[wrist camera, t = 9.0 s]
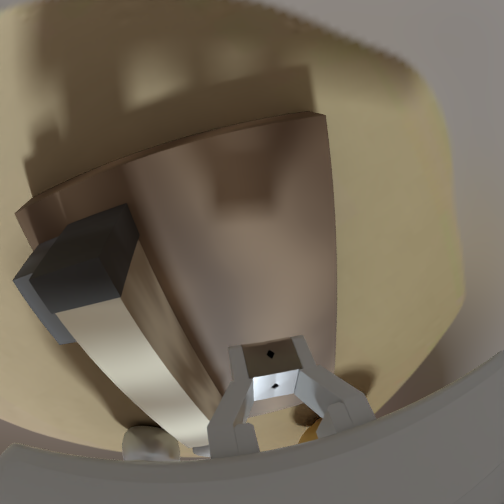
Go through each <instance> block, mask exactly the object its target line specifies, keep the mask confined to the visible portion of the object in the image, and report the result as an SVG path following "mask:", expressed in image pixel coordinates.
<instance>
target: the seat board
mask: <svg viewBox="0 0 504 504" xmlns="http://www.w3.org/2000/svg"><path fill="white" fill-rule="evenodd" d="M125 203H127V205H128V207H129V210H130V212H131V215H132V217H133V220H134V222H135V224H136V227H137V229H138V232H139V234H140V236H139V241H140V244H141V246H142V248H143V250H144V253H145V255H146V257H147V259H148V261H149V264H150V266H151V268H152V270H153V272H154V274H155V276H156V278H157V280H158V283H159V285H160V287H161V289H162V291H163V293H164V295H165V297H166V299H167V301H168V303H169V305H170V307H171V309H172V311H173V312H174V314H175V316H176V318H177V320H178V322H179V324H180V326H181V328H182V329H183V331H184V333H185V335H186V337H187V339H188V340H189V342H190V344H191V346H192V348H193V349H194V351H195V353H196V355H197V356H198V358H199V360H200V361H201V363H202V365H203V367H204V368H205V370H206V372H207V373H208V375H209V377H210V378H211V380H212V382H213V383H214V385H215V386H216V388H217V390H218V391H219V393H220V394H221V396H222V397H223V395H224V394H225V392H226V390H227V388H228V386H229V384H230V382H232V381H233V380H232V375H231V368H230V360H229V352H228V346H236V345H244V344H252V343H260V342H265V341H269V340H275V339H280V338H285V337H292V336H297V335H303V336H304V338H305V340H306V342H307V345H308V347H309V349H310V352H311V354H312V356H313V359H314V361H315V363H316V366H317V365H321V366H322V367H324V368H325V369H327V370H328V371H330V372H331V373H333V374H334V368H335V350H336V323H337V253H336V226H335V207H334V192H333V180H332V168H331V158H330V148H329V139H328V131H327V123H326V115H323V114H319V113H314V112H310V111H306V112H299V113H293V114H287V115H281V116H275V117H269V118H264V119H259V120H254V121H249V122H244V123H240V124H235V125H231V126H227V127H222V128H218V129H214V130H210V131H206V132H203V133H199V134H195V135H192V136H188V137H184V138H181V139H178V140H174V141H171V142H168V143H165V144H161V145H158V146H155V147H152V148H149V149H146V150H143V151H140V152H137V153H135V154H132V155H129V156H126V157H123V158H121V159H118V160H115V161H113V162H110V163H108V164H105V165H103V166H100V167H98V168H95V169H93V170H90V171H88V172H86V173H83V174H81V175H79V176H77V177H74V178H72V179H70V180H68V181H65V182H63V183H61V184H59V185H57V186H55V187H53V188H51V189H49V190H47V191H45V192H43V193H41V194H39V195H37V196H35V197H33V198H31V199H30V200H29V201H28V202H27V203H26V204H25V205H23V206H22V207H21V208H20V209H19V210H18V211H17V212H16V213H15V216H16V218H17V220H18V222H19V224H20V226H21V228H22V230H23V232H24V234H25V236H26V238H27V240H28V242H29V244H30V246H31V248H32V249H33V253H32V254H31V255H30V257H29V258H28V259H27V261H26V262H25V263H24V265H23V266H22V268H21V269H20V270H19V272H18V273H17V275H16V276H15V278H14V279H13V282H14V283H15V285H16V287H17V288H18V290H19V291H20V293H21V294H22V296H23V297H24V299H25V300H26V301H27V303H28V304H29V306H30V307H31V309H32V310H33V311H34V313H35V314H36V315H37V317H38V318H39V319H40V321H41V322H42V323H43V325H44V326H45V327H46V328H47V330H48V331H49V332H50V334H51V335H52V336H53V337H54V338H55V340H56V341H57V342H58V343H59V344H60V345H61V344H67V343H73V342H77V341H76V340H75V339H74V337H73V336H72V335H71V334H70V332H69V331H68V330H67V328H66V327H65V326H64V325H63V323H62V322H61V321H60V319H59V318H58V316H57V315H56V314H55V313H54V314H51V313H50V311H49V310H48V309H47V307H46V306H45V304H44V303H43V301H42V300H41V298H40V297H39V295H38V294H37V292H36V291H35V289H34V288H33V286H32V285H31V283H30V282H29V279H30V277H31V275H32V274H33V272H34V271H35V269H36V268H37V266H38V265H39V263H40V262H41V260H42V259H43V258H44V256H45V255H46V253H47V252H48V250H49V249H50V248H51V246H52V245H53V243H54V242H55V241H56V239H57V238H58V237H59V235H60V234H61V233H62V231H63V230H64V229H65V228H66V226H67V225H68V224H70V223H73V222H75V221H78V220H81V219H83V218H86V217H88V216H91V215H94V214H97V213H99V212H102V211H105V210H108V209H110V208H113V207H116V206H119V205H122V204H125ZM303 403H304V402H303V401H301V400H300V399H299V398H298V397H297V396H296V395H295V394H294V393H293V394H288V395H283V396H277V397H272V398H267V399H262V400H257V401H254V403H253V406H252V408H251V411H250V413H249V416H248V418H249V417H253V416H257V415H262V414H266V413H270V412H274V411H278V410H281V409H285V408H289V407H292V406H296V405H299V404H303Z"/></svg>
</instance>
